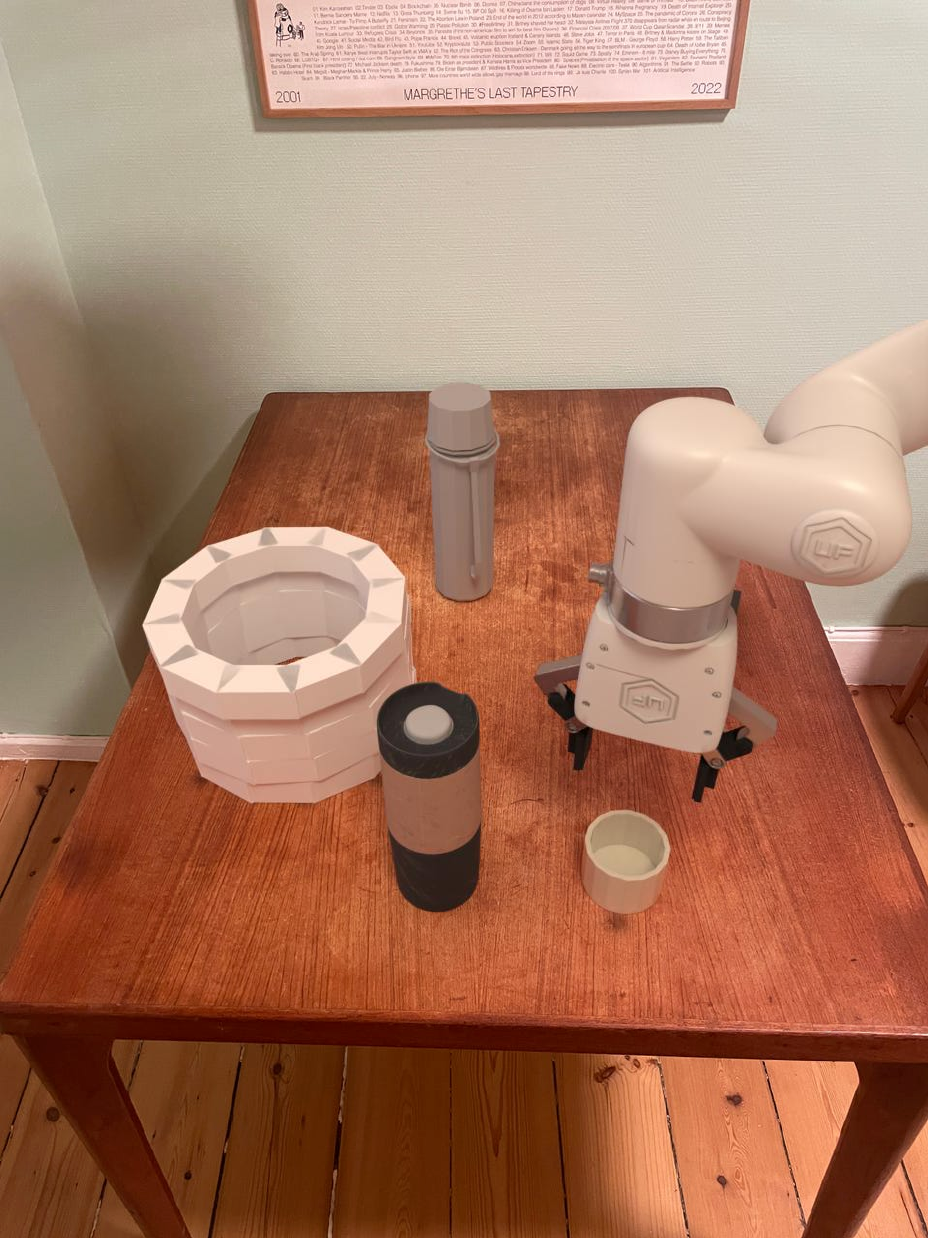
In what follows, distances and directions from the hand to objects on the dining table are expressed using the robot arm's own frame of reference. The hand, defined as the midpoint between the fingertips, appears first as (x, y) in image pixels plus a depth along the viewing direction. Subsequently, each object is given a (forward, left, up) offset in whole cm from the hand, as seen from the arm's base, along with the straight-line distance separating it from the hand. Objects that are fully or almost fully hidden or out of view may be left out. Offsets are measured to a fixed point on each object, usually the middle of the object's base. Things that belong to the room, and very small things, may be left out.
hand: (639, 772), depth 68 cm
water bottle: (+26, -33, -14) cm, 44 cm away
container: (+35, -8, -14) cm, 39 cm away
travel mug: (+15, +5, -14) cm, 21 cm away
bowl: (0, 0, -14) cm, 14 cm away
